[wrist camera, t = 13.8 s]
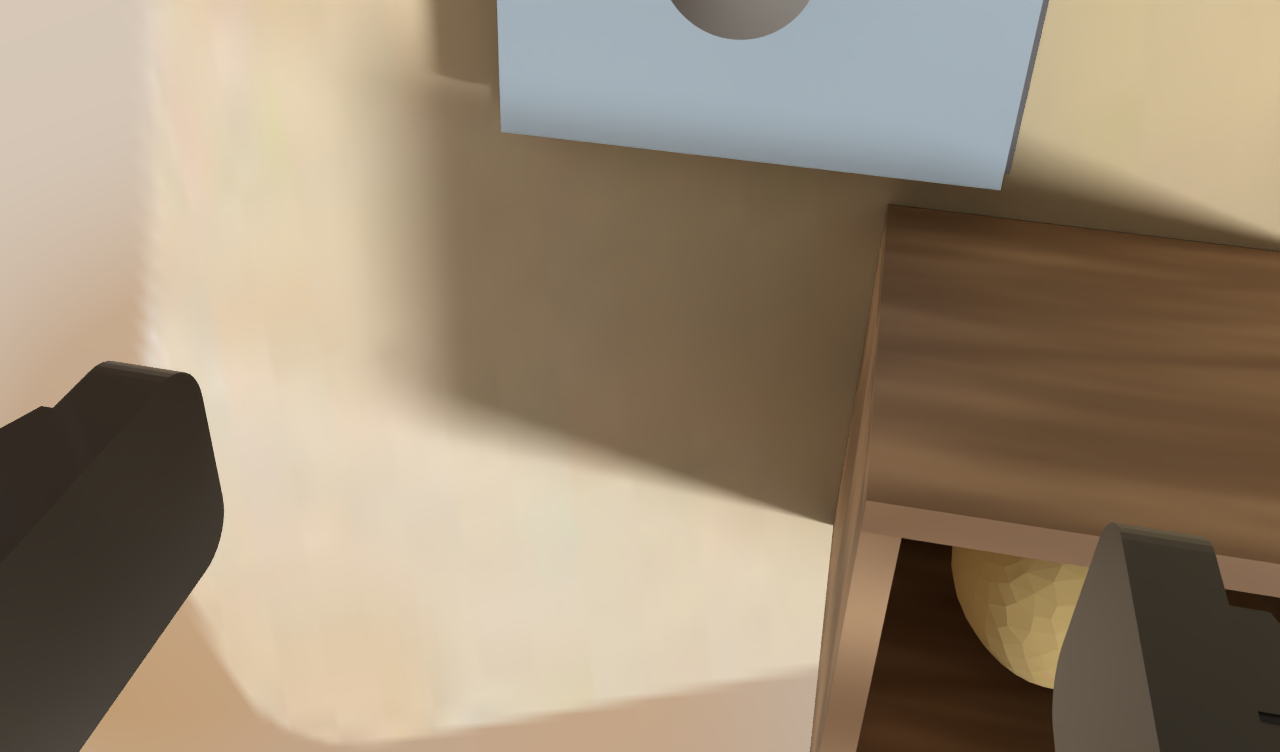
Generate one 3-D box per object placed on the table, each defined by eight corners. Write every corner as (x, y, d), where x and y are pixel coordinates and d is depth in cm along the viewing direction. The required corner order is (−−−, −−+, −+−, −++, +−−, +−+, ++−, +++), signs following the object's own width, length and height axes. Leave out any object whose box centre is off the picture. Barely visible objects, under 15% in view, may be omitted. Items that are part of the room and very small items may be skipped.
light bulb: (970, 503, 40) (979, 752, 31) (929, 338, 36) (927, 567, 28) (1184, 475, 37) (1253, 735, 29) (1159, 298, 34) (1229, 533, 26)
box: (887, 204, 34) (866, 500, 24) (1343, 259, 33) (1535, 603, 22) (833, 526, 41) (798, 866, 31) (1207, 585, 40) (1305, 966, 29)
